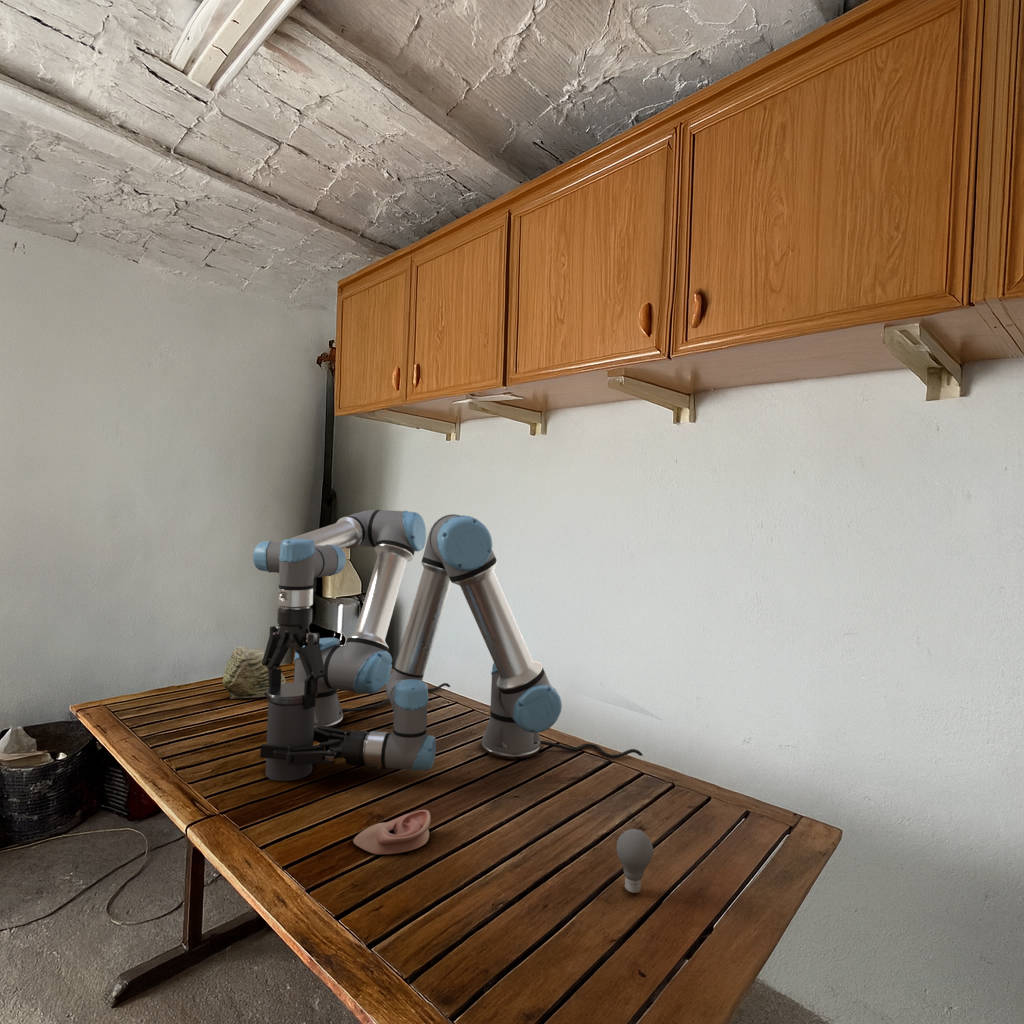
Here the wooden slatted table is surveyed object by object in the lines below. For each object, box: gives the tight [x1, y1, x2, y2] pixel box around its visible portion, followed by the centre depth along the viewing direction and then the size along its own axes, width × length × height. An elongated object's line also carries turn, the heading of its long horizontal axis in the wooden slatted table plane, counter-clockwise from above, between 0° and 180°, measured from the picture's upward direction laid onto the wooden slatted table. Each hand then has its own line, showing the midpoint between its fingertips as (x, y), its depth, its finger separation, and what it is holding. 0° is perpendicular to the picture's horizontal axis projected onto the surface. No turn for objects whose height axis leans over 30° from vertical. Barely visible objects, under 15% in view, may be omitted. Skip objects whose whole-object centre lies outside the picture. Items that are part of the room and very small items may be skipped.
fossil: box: [222, 646, 287, 699], centre depth 198 cm, size 9×18×15 cm, turn 132°
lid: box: [265, 681, 317, 704], centre depth 145 cm, size 11×11×2 cm
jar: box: [265, 700, 315, 782], centre depth 145 cm, size 10×10×18 cm
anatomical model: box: [352, 809, 431, 856], centre depth 118 cm, size 13×4×12 cm
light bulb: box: [615, 828, 654, 894], centre depth 106 cm, size 6×6×10 cm
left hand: (291, 702), depth 145 cm, fingers closed on lid, 11 cm apart
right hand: (272, 741), depth 145 cm, fingers closed on jar, 10 cm apart
